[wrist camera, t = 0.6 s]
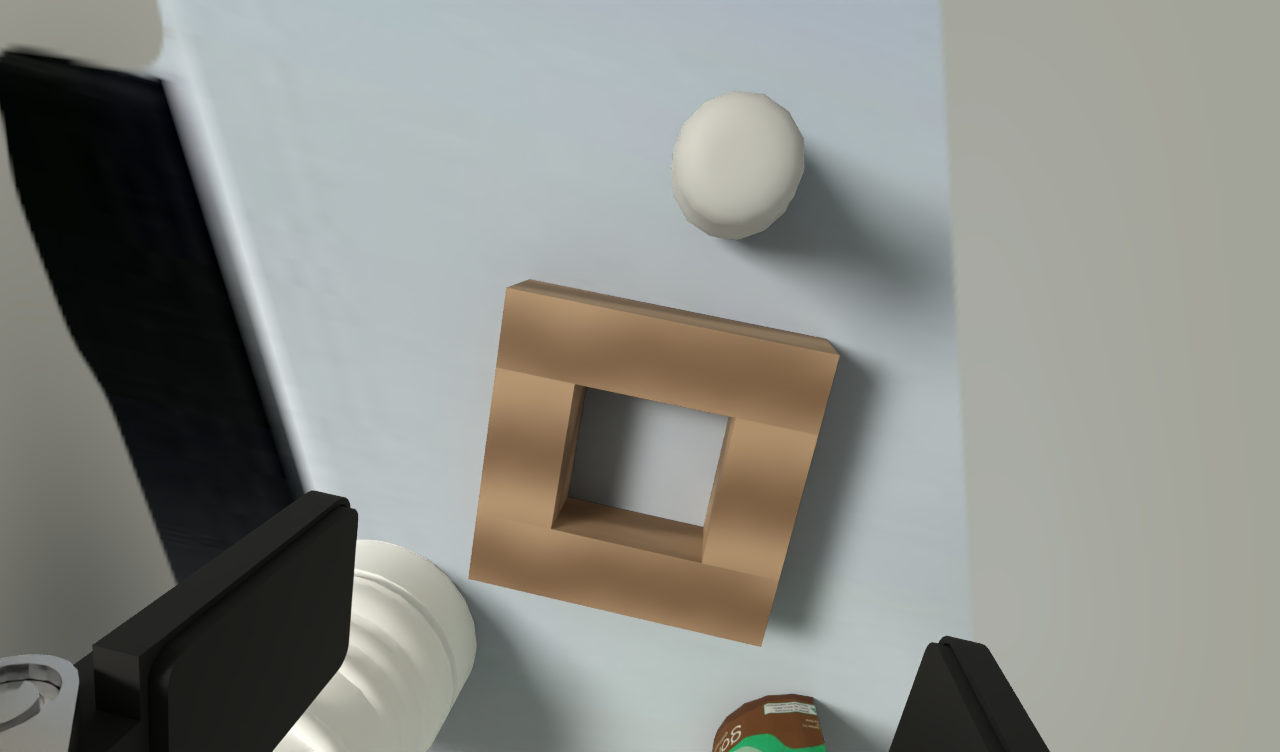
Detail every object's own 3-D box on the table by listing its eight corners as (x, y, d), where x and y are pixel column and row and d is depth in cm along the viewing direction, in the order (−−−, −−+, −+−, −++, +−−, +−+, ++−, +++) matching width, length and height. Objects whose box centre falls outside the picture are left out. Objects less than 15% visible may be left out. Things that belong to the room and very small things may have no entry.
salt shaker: (801, 124, 32) (854, 70, 20) (780, 243, 34) (817, 263, 21) (682, 110, 33) (660, 48, 20) (666, 228, 34) (636, 239, 22)
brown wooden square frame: (529, 279, 36) (506, 287, 32) (826, 339, 35) (840, 355, 31) (492, 542, 40) (468, 578, 36) (756, 603, 39) (760, 646, 35)
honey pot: (413, 750, 44) (218, 1097, 27) (252, 641, 44) (-56, 926, 26) (515, 619, 41) (365, 920, 24) (341, 499, 40) (56, 719, 23)
